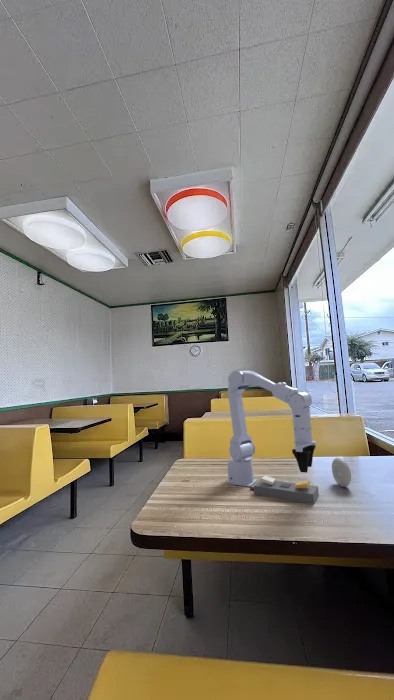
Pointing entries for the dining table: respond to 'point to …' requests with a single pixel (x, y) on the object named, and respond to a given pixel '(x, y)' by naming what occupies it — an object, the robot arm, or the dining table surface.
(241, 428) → the robot arm
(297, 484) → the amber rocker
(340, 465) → the grey round disc
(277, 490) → the power strip
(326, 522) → the dining table surface
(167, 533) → the dining table surface
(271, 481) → the white plug
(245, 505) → the dining table surface
